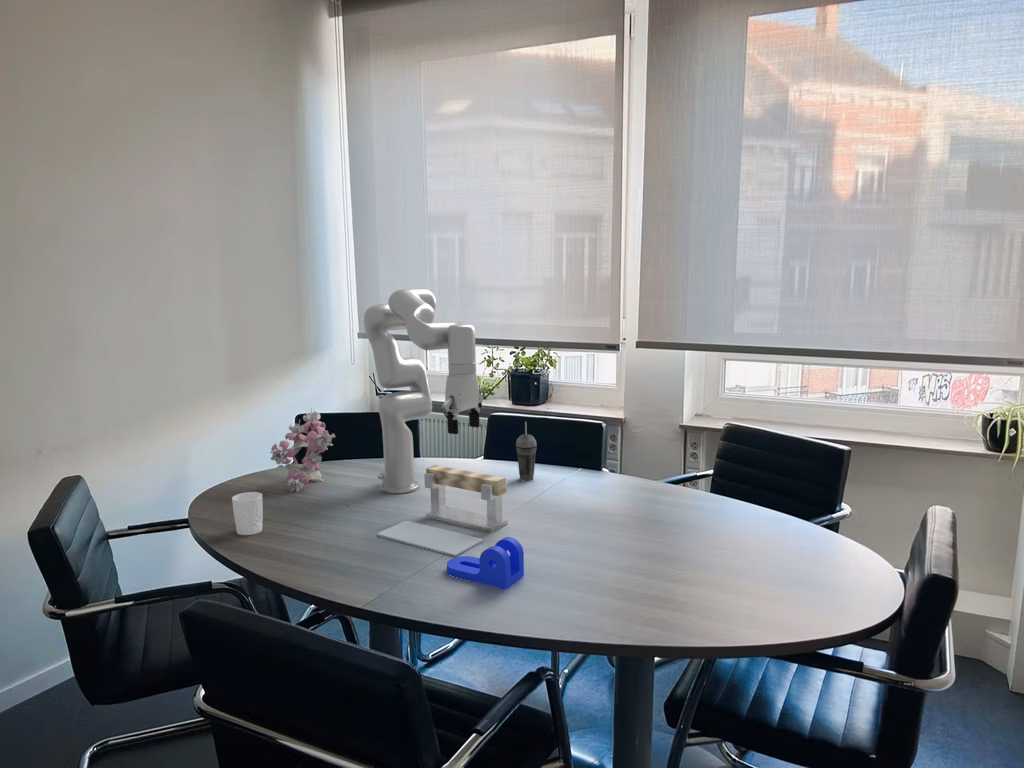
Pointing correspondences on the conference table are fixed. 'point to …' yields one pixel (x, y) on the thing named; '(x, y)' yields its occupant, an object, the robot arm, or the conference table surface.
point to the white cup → (248, 513)
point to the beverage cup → (526, 455)
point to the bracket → (491, 565)
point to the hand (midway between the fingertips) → (464, 430)
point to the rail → (467, 479)
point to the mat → (430, 538)
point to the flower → (312, 444)
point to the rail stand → (461, 516)
